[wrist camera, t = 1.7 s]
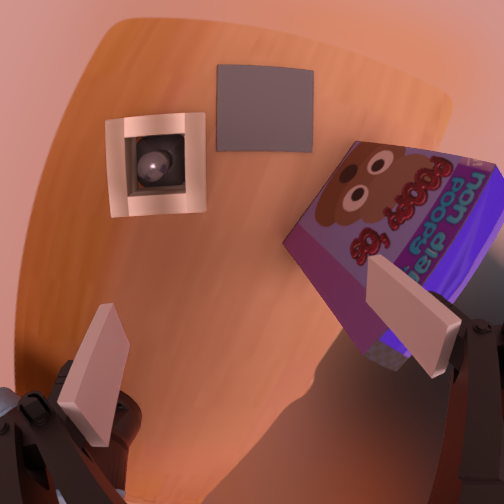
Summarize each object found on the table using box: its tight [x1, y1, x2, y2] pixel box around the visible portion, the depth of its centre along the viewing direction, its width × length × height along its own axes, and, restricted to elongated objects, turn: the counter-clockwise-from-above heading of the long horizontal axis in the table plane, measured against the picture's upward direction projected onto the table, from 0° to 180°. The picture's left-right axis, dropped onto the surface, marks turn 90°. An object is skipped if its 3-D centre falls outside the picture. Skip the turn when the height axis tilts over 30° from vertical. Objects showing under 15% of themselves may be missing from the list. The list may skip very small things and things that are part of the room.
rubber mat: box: [217, 65, 314, 153], centre depth 35 cm, size 12×11×1 cm
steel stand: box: [136, 134, 186, 187], centre depth 29 cm, size 8×8×13 cm
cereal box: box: [283, 141, 504, 371], centre depth 30 cm, size 17×5×24 cm, turn 145°
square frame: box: [105, 112, 207, 218], centre depth 27 cm, size 9×9×5 cm
